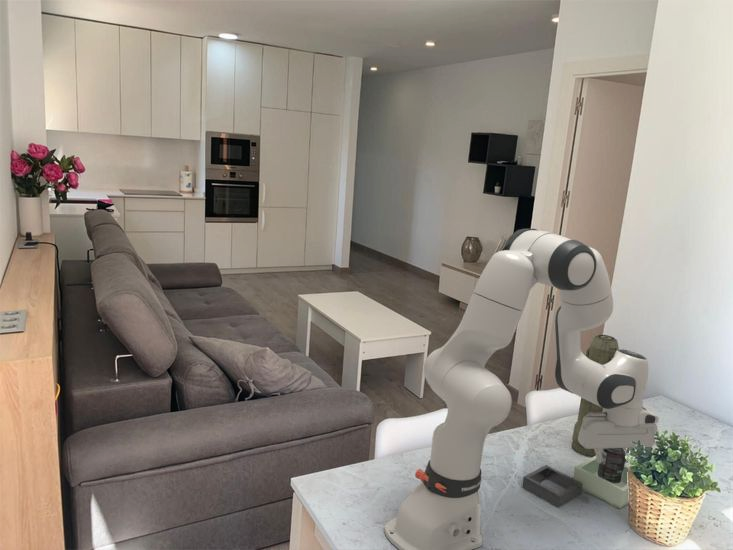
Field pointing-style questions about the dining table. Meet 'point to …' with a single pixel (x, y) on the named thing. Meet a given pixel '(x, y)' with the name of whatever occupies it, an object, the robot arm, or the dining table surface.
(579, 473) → the bin
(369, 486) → the dining table surface
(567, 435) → the dining table surface
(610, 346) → the thermos
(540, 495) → the dark grey shallow tray
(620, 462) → the pill bottle
